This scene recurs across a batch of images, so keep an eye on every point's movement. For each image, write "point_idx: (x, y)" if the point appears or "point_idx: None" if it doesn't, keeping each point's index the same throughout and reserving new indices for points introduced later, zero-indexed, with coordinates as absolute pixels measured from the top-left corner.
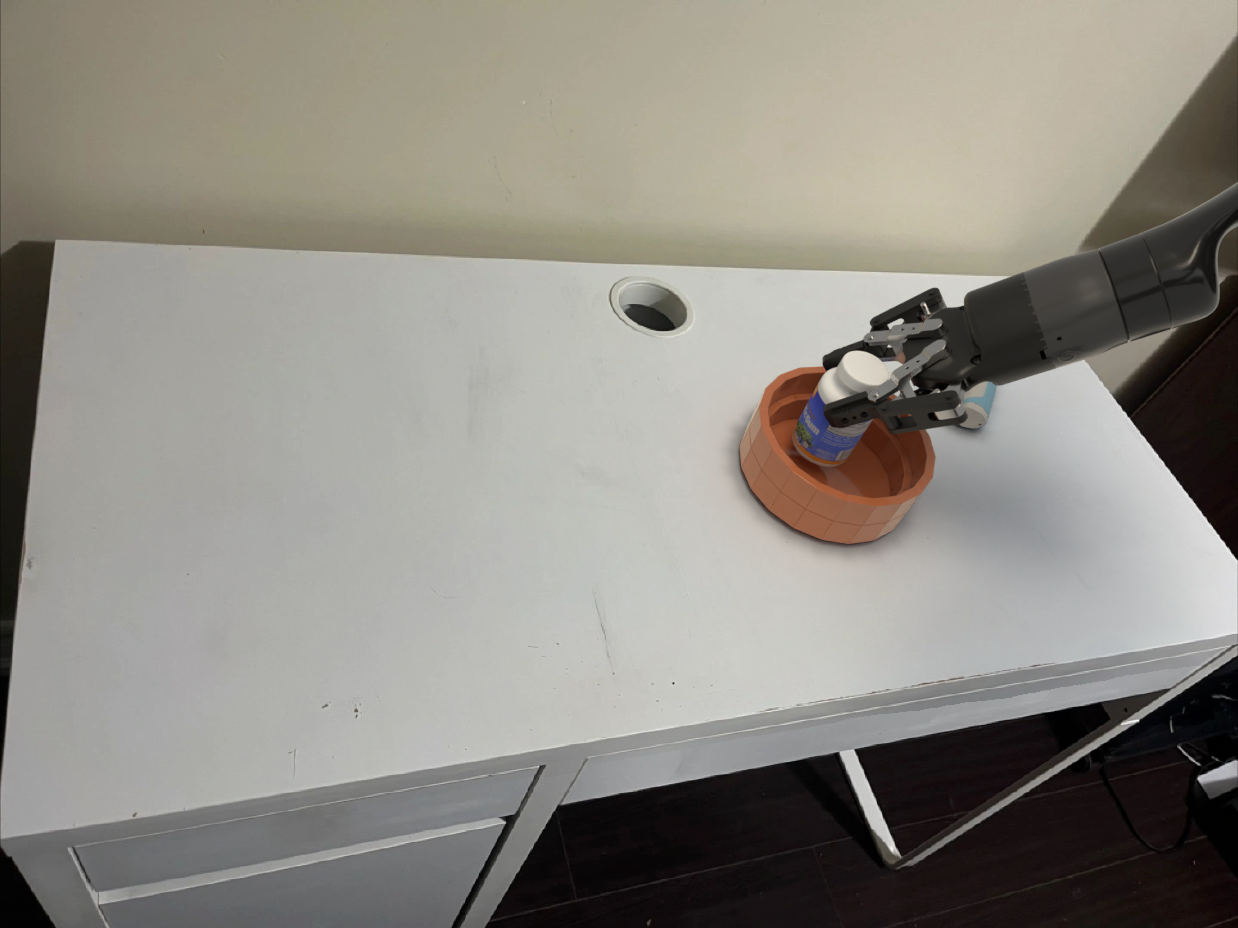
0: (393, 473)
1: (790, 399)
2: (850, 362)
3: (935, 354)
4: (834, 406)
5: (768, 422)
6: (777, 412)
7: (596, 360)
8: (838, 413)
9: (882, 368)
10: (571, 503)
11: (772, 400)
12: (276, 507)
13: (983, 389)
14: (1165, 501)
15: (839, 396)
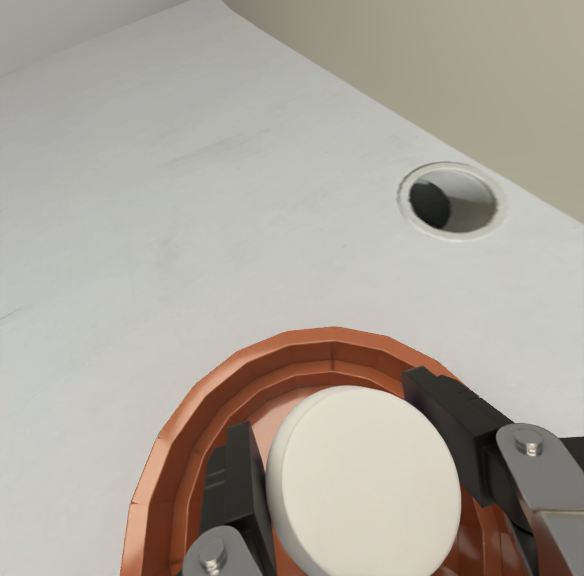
0: (106, 147)
1: (397, 389)
2: (348, 415)
3: None
4: (228, 441)
5: (255, 357)
6: (361, 382)
7: (322, 193)
8: (217, 462)
9: (416, 547)
10: (123, 249)
11: (351, 357)
12: (54, 120)
13: None
14: None
15: (284, 445)
